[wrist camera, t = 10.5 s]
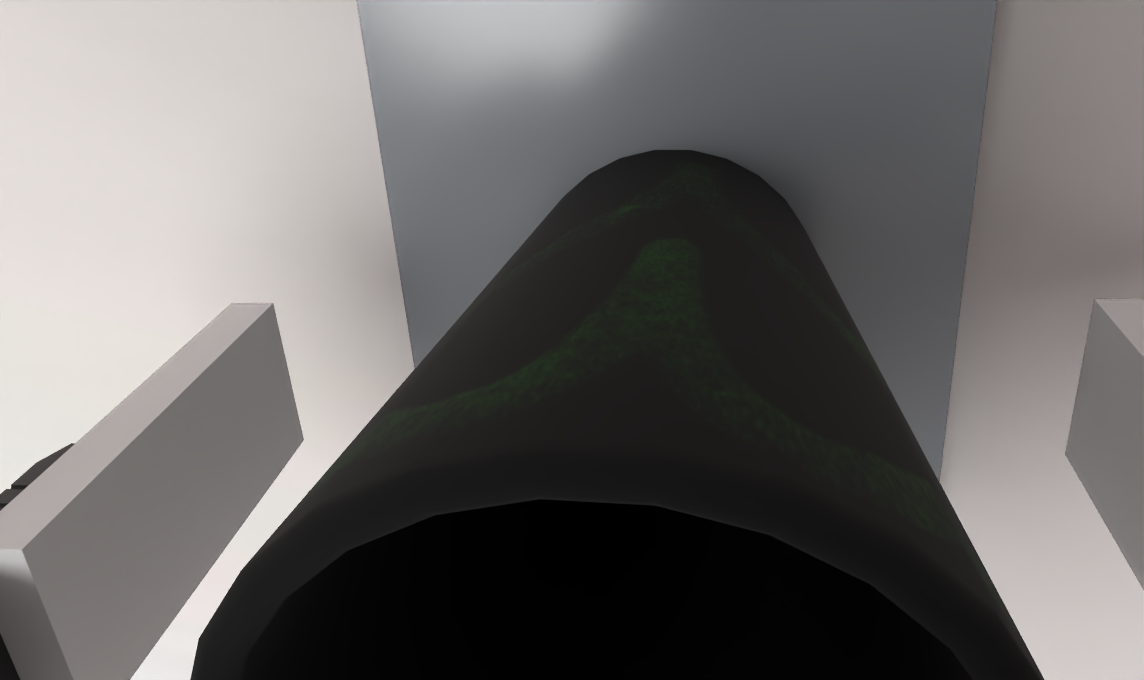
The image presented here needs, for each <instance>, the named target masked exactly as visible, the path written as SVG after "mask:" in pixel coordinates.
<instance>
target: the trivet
mask: <svg viewBox="0 0 1144 680" xmlns="http://www.w3.org/2000/svg"><path fill="white" fill-rule="evenodd" d="M996 6H997V0H357V7H358V13H359V19H360V26H361V32H362V38H363V44H364V51H365V57H366V63H367V70H368V76H369V82H370V89H371V95H372V101H373V108H374V114H375V120H376V127H377V133H378V139H379V146H380V152H381V158H382V165H383V171H384V177H385V184H386V190H387V196H388V203H389V209H390V215H391V222H392V228H393V234H394V241H395V247H396V253H397V260H398V266H399V272H400V279H401V285H402V291H403V298H404V304H405V310H406V317H407V323H408V329H409V336H410V342H411V348H412V355H413V361H414V367H415V368H416V367H417V366H418V365H419V364H420V363H421V361H422V360H423V359H424V358H425V357H426V356H427V354H428V353H429V352H430V351H431V350H432V349H433V347H434V346H435V345H436V344H437V343H438V342H439V340H440V339H441V338H442V337H443V336H444V335H445V334H446V332H447V331H448V330H449V329H450V328H451V327H452V325H453V324H454V323H455V322H456V321H457V320H458V318H459V317H460V316H461V315H462V314H463V313H464V311H465V310H466V309H467V308H468V307H469V306H470V305H471V303H472V302H473V301H474V300H475V299H476V298H477V296H478V295H479V294H480V293H481V292H482V291H483V289H484V288H485V287H486V286H487V285H488V284H489V282H490V281H491V280H492V279H493V278H494V277H495V275H496V274H497V273H498V272H499V271H500V270H501V269H502V267H503V266H504V265H505V264H506V263H507V262H508V260H509V259H510V258H511V257H512V256H513V255H514V253H515V252H516V251H517V250H518V249H519V248H520V246H521V245H522V244H523V243H524V242H525V241H526V240H527V238H528V237H529V236H530V235H531V234H532V233H533V231H534V230H535V229H536V228H537V227H538V226H539V224H540V223H541V222H542V221H543V220H544V219H545V217H546V216H547V215H548V214H549V213H550V212H551V210H552V209H553V208H554V207H555V206H556V205H557V204H558V202H559V201H560V200H561V199H562V198H563V197H564V196H565V195H566V194H567V193H568V192H569V191H570V190H571V189H573V188H574V187H575V186H576V185H577V184H578V183H579V182H581V181H582V180H583V179H584V178H585V177H586V176H587V175H588V174H590V173H592V172H594V171H596V170H598V169H600V168H602V167H604V166H606V165H608V164H610V163H611V162H613V161H615V160H617V159H619V158H623V157H627V156H631V155H635V154H639V153H644V152H648V151H652V150H694V151H698V152H702V153H706V154H710V155H714V156H718V157H722V158H726V159H728V160H730V161H732V162H734V163H736V164H738V165H740V166H742V167H744V168H746V169H748V170H749V171H751V172H753V173H755V174H757V175H759V176H760V177H761V178H762V179H763V180H764V181H766V182H767V183H768V184H769V185H770V186H771V187H772V188H773V189H775V190H776V191H777V192H778V193H779V194H780V195H781V196H782V197H784V198H785V200H786V201H787V203H788V204H789V206H790V207H791V209H792V210H793V212H794V213H795V215H796V216H797V218H798V219H799V221H800V222H801V224H802V225H803V227H804V229H805V231H806V232H807V234H808V236H809V238H810V240H811V242H812V244H813V246H814V247H815V249H816V251H817V253H818V255H819V257H820V259H821V261H822V263H823V264H824V266H825V268H826V270H827V272H828V274H829V276H830V278H831V279H832V281H833V283H834V285H835V287H836V289H837V291H838V293H839V294H840V296H841V298H842V300H843V302H844V304H845V306H846V308H847V310H848V311H849V313H850V315H851V317H852V319H853V321H854V323H855V325H856V326H857V328H858V330H859V332H860V334H861V336H862V338H863V340H864V342H865V343H866V345H867V347H868V349H869V351H870V353H871V355H872V357H873V358H874V360H875V362H876V364H877V366H878V368H879V370H880V372H881V373H882V375H883V377H884V379H885V381H886V383H887V385H888V387H889V389H890V390H891V392H892V394H893V396H894V398H895V400H896V402H897V404H898V405H899V407H900V409H901V411H902V413H903V415H904V417H905V419H906V421H907V422H908V424H909V426H910V428H911V430H912V432H913V434H914V436H915V437H916V439H917V441H918V443H919V445H920V447H921V449H922V451H923V452H924V454H925V456H926V458H927V460H928V462H929V464H930V466H931V468H932V469H933V471H934V473H935V475H936V477H937V479H938V481H939V480H940V471H941V463H942V455H943V446H944V438H945V430H946V421H947V413H948V405H949V397H950V388H951V380H952V372H953V363H954V355H955V347H956V338H957V330H958V322H959V313H960V305H961V297H962V289H963V280H964V272H965V264H966V255H967V247H968V239H969V230H970V222H971V214H972V205H973V197H974V189H975V181H976V172H977V164H978V156H979V147H980V139H981V131H982V122H983V114H984V106H985V97H986V89H987V81H988V73H989V64H990V56H991V48H992V39H993V31H994V23H995V14H996Z"/></svg>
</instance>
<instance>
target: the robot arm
mask: <svg viewBox="0 0 1144 680" xmlns="http://www.w3.org/2000/svg"><path fill="white" fill-rule="evenodd" d="M303 440H304V439H303V435H302V430H301V426H300V421H299V417H298V412H297V408H296V403H295V399H294V394H293V390H292V385H291V381H290V376H289V372H288V367H287V363H286V359H285V354H284V350H283V345H282V341H281V336H280V332H279V327H278V323H277V318H276V314H275V309H274V305H273V303H231V304H230V305H229V306H228V307H227V308H226V309H225V310H224V311H222V312H221V313H220V314H219V315H218V316H217V317H216V318H215V319H214V320H212V321H211V322H210V323H209V324H208V325H207V326H206V327H205V328H204V329H202V330H201V331H200V332H199V333H198V334H197V335H196V336H195V337H193V338H192V339H191V340H190V341H189V342H188V343H187V344H186V345H185V346H183V347H182V348H181V349H180V350H179V351H178V352H177V353H176V354H175V355H173V356H172V357H171V358H170V359H169V360H168V361H167V362H166V363H165V364H163V365H162V366H161V367H160V368H159V369H158V370H157V371H156V372H154V373H153V374H152V375H151V376H150V377H149V378H148V379H147V380H146V381H144V382H143V383H142V384H141V385H140V386H139V387H138V388H137V389H136V390H134V391H133V392H132V393H131V394H130V395H129V396H128V397H127V398H126V399H124V400H123V401H122V402H121V403H120V404H119V405H118V406H117V407H115V408H114V409H113V410H112V411H111V412H110V413H109V414H108V415H107V416H105V417H104V418H103V419H102V420H101V421H100V422H99V423H98V424H97V425H95V426H94V427H93V428H92V429H91V430H90V431H89V432H88V433H87V434H85V435H84V436H83V437H82V438H81V439H80V440H79V441H78V442H76V443H75V444H74V443H71V444H70V445H68V446H66V447H64V448H62V449H61V450H59V451H57V452H55V453H53V454H51V455H50V456H48V457H46V458H44V459H42V460H41V461H39V462H37V463H36V464H34V465H33V466H32V467H31V468H30V469H29V470H28V471H26V472H25V473H24V474H23V475H22V476H21V477H20V478H18V479H17V480H16V481H15V482H14V483H13V484H12V485H11V489H6V490H5V491H4V492H2V493H1V494H0V680H130V679H131V677H132V676H133V675H134V673H135V672H136V671H137V669H138V668H139V666H140V665H141V664H142V662H143V661H144V659H145V658H146V657H147V655H148V654H149V653H150V651H151V650H152V648H153V647H154V646H155V644H156V643H157V642H158V640H159V639H160V637H161V636H162V635H163V633H164V632H165V631H166V629H167V628H168V626H169V625H170V624H171V622H172V621H173V620H174V618H175V617H176V615H177V614H178V613H179V611H180V610H181V608H182V607H183V606H184V604H185V603H186V602H187V600H188V599H189V597H190V596H191V595H192V593H193V592H194V591H195V589H196V588H197V586H198V585H199V584H200V582H201V581H202V580H203V578H204V577H205V575H206V574H207V573H208V571H209V570H210V569H211V567H212V566H213V564H214V563H215V562H216V560H217V559H218V558H219V556H220V555H221V553H222V552H223V551H224V549H225V548H226V546H227V545H228V544H229V542H230V541H231V540H232V538H233V537H234V535H235V534H236V533H237V531H238V530H239V529H240V527H241V526H242V524H243V523H244V522H245V520H246V519H247V518H248V516H249V515H250V513H251V512H252V511H253V509H254V508H255V507H256V505H257V504H258V502H259V501H260V500H261V498H262V497H263V496H264V494H265V493H266V491H267V490H268V489H269V487H270V486H271V484H272V483H273V482H274V480H275V479H276V478H277V476H278V475H279V473H280V472H281V471H282V469H283V468H284V467H285V465H286V464H287V462H288V461H289V460H290V458H291V457H292V456H293V454H294V453H295V451H296V450H297V449H298V447H299V446H300V445H301V443H302V442H303ZM1065 455H1066V456H1067V458H1068V460H1069V462H1070V463H1071V465H1072V467H1073V468H1074V470H1075V472H1076V474H1077V475H1078V477H1079V479H1080V481H1081V482H1082V484H1083V486H1084V487H1085V489H1086V491H1087V493H1088V494H1089V496H1090V498H1091V500H1092V501H1093V503H1094V505H1095V507H1096V508H1097V510H1098V512H1099V513H1100V515H1101V517H1102V519H1103V520H1104V522H1105V524H1106V526H1107V527H1108V529H1109V531H1110V532H1111V534H1112V536H1113V538H1114V539H1115V541H1116V543H1117V545H1118V546H1119V548H1120V550H1121V552H1122V553H1123V555H1124V557H1125V558H1126V560H1127V562H1128V564H1129V565H1130V567H1131V569H1132V571H1133V572H1134V574H1135V576H1136V577H1137V579H1138V581H1139V583H1140V584H1141V586H1142V588H1143V590H1144V299H1094V303H1093V308H1092V314H1091V319H1090V324H1089V330H1088V335H1087V340H1086V346H1085V351H1084V356H1083V362H1082V367H1081V373H1080V378H1079V383H1078V389H1077V394H1076V399H1075V405H1074V410H1073V415H1072V421H1071V426H1070V431H1069V437H1068V442H1067V447H1066V453H1065Z"/></svg>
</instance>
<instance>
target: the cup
mask: <svg viewBox="0 0 1144 680" xmlns="http://www.w3.org/2000/svg"><path fill="white" fill-rule="evenodd" d="M191 680H1044V678H1043V676H1042V674H1041V673H1040V671H1039V669H1038V667H1037V665H1036V663H1035V661H1034V659H1033V658H1032V656H1031V654H1030V652H1029V650H1028V648H1027V646H1026V644H1025V642H1024V641H1023V639H1022V637H1021V635H1020V633H1019V631H1018V629H1017V627H1016V626H1015V624H1014V622H1013V620H1012V618H1011V616H1010V614H1009V612H1008V610H1007V609H1006V607H1005V605H1004V603H1003V601H1002V599H1001V597H1000V595H999V594H998V592H997V590H996V588H995V586H994V584H993V582H992V580H991V579H990V577H989V575H988V573H987V571H986V569H985V567H984V565H983V563H982V562H981V560H980V558H979V556H978V554H977V552H976V550H975V548H974V547H973V545H972V543H971V541H970V539H969V537H968V535H967V533H966V531H965V530H964V528H963V526H962V524H961V522H960V520H959V518H958V516H957V515H956V513H955V511H954V509H953V507H952V505H951V503H950V501H949V500H948V498H947V496H946V494H945V492H944V490H943V488H942V486H941V484H940V483H939V481H938V479H937V477H936V475H935V473H934V471H933V469H932V468H931V466H930V464H929V462H928V460H927V458H926V456H925V454H924V452H923V451H922V449H921V447H920V445H919V443H918V441H917V439H916V437H915V436H914V434H913V432H912V430H911V428H910V426H909V424H908V422H907V421H906V419H905V417H904V415H903V413H902V411H901V409H900V407H899V405H898V404H897V402H896V400H895V398H894V396H893V394H892V392H891V390H890V389H889V387H888V385H887V383H886V381H885V379H884V377H883V375H882V373H881V372H880V370H879V368H878V366H877V364H876V362H875V360H874V358H873V357H872V355H871V353H870V351H869V349H868V347H867V345H866V343H865V342H864V340H863V338H862V336H861V334H860V332H859V330H858V328H857V326H856V325H855V323H854V321H853V319H852V317H851V315H850V313H849V311H848V310H847V308H846V306H845V304H844V302H843V300H842V298H841V296H840V294H839V293H838V291H837V289H836V287H835V285H834V283H833V281H832V279H831V278H830V276H829V274H828V272H827V270H826V268H825V266H824V264H823V263H822V261H821V259H820V257H819V255H818V253H817V251H816V249H815V247H814V246H813V244H812V242H811V240H810V238H809V236H808V234H807V232H806V231H805V229H804V227H803V225H802V224H801V222H800V221H799V219H798V218H797V216H796V215H795V213H794V212H793V210H792V209H791V207H790V206H789V204H788V203H787V201H786V200H785V198H784V197H782V196H781V195H780V194H779V193H778V192H777V191H776V190H775V189H773V188H772V187H771V186H770V185H769V184H768V183H767V182H766V181H764V180H763V179H762V178H761V177H760V176H759V175H757V174H755V173H753V172H751V171H749V170H748V169H746V168H744V167H742V166H740V165H738V164H736V163H734V162H732V161H730V160H728V159H726V158H722V157H718V156H714V155H710V154H706V153H702V152H698V151H694V150H652V151H648V152H644V153H639V154H635V155H631V156H627V157H623V158H619V159H617V160H615V161H613V162H611V163H610V164H608V165H606V166H604V167H602V168H600V169H598V170H596V171H594V172H592V173H590V174H588V175H587V176H586V177H585V178H584V179H583V180H582V181H581V182H579V183H578V184H577V185H576V186H575V187H574V188H573V189H571V190H570V191H569V192H568V193H567V194H566V195H565V196H564V197H563V198H562V199H561V200H560V201H559V202H558V204H557V205H556V206H555V207H554V208H553V209H552V210H551V212H550V213H549V214H548V215H547V216H546V217H545V219H544V220H543V221H542V222H541V223H540V224H539V226H538V227H537V228H536V229H535V230H534V231H533V233H532V234H531V235H530V236H529V237H528V238H527V240H526V241H525V242H524V243H523V244H522V245H521V246H520V248H519V249H518V250H517V251H516V252H515V253H514V255H513V256H512V257H511V258H510V259H509V260H508V262H507V263H506V264H505V265H504V266H503V267H502V269H501V270H500V271H499V272H498V273H497V274H496V275H495V277H494V278H493V279H492V280H491V281H490V282H489V284H488V285H487V286H486V287H485V288H484V289H483V291H482V292H481V293H480V294H479V295H478V296H477V298H476V299H475V300H474V301H473V302H472V303H471V305H470V306H469V307H468V308H467V309H466V310H465V311H464V313H463V314H462V315H461V316H460V317H459V318H458V320H457V321H456V322H455V323H454V324H453V325H452V327H451V328H450V329H449V330H448V331H447V332H446V334H445V335H444V336H443V337H442V338H441V339H440V340H439V342H438V343H437V344H436V345H435V346H434V347H433V349H432V350H431V351H430V352H429V353H428V354H427V356H426V357H425V358H424V359H423V360H422V361H421V363H420V364H419V365H418V366H417V367H416V368H415V369H414V371H413V372H412V373H411V374H410V375H409V376H408V378H407V379H406V380H405V381H404V382H403V383H402V385H401V386H400V387H399V388H398V389H397V390H396V392H395V393H394V394H393V395H392V396H391V397H390V399H389V400H388V401H387V402H386V403H385V404H384V405H383V407H382V408H381V409H380V410H379V411H378V412H377V414H376V415H375V416H374V417H373V418H372V419H371V421H370V422H369V423H368V424H367V425H366V426H365V428H364V429H363V430H362V431H361V432H360V433H359V434H358V436H357V437H356V438H355V439H354V440H353V441H352V443H351V444H350V445H349V446H348V447H347V448H346V450H345V451H344V452H343V453H342V454H341V455H340V457H339V458H338V459H337V460H336V461H335V462H334V464H333V465H332V466H331V467H330V468H329V469H328V470H327V472H326V473H325V474H324V475H323V476H322V477H321V479H320V480H319V481H318V482H317V483H316V484H315V486H314V487H313V488H312V489H311V490H310V491H309V493H308V494H307V495H306V496H305V497H304V498H303V499H302V501H301V502H300V503H299V504H298V505H297V506H296V508H295V509H294V510H293V511H292V512H291V513H290V515H289V516H288V517H287V518H286V519H285V520H284V522H283V523H282V524H281V525H280V526H279V527H278V529H277V530H276V531H275V532H274V533H273V534H272V535H271V537H270V538H269V539H268V540H267V541H266V542H265V544H264V545H263V546H262V547H261V548H260V549H259V551H258V552H257V553H256V554H255V555H254V556H253V558H252V559H251V560H250V561H249V562H248V563H247V564H246V566H245V567H244V568H243V569H242V570H241V572H240V573H239V575H238V576H237V578H236V580H235V581H234V583H233V584H232V586H231V588H230V589H229V591H228V593H227V594H226V596H225V597H224V599H223V601H222V602H221V604H220V605H219V607H218V609H217V610H216V612H215V614H214V615H213V617H212V618H211V620H210V622H209V623H208V625H207V626H206V628H205V630H204V631H203V633H202V634H201V636H200V638H199V641H198V646H197V651H196V656H195V660H194V665H193V670H192V675H191Z"/></svg>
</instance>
